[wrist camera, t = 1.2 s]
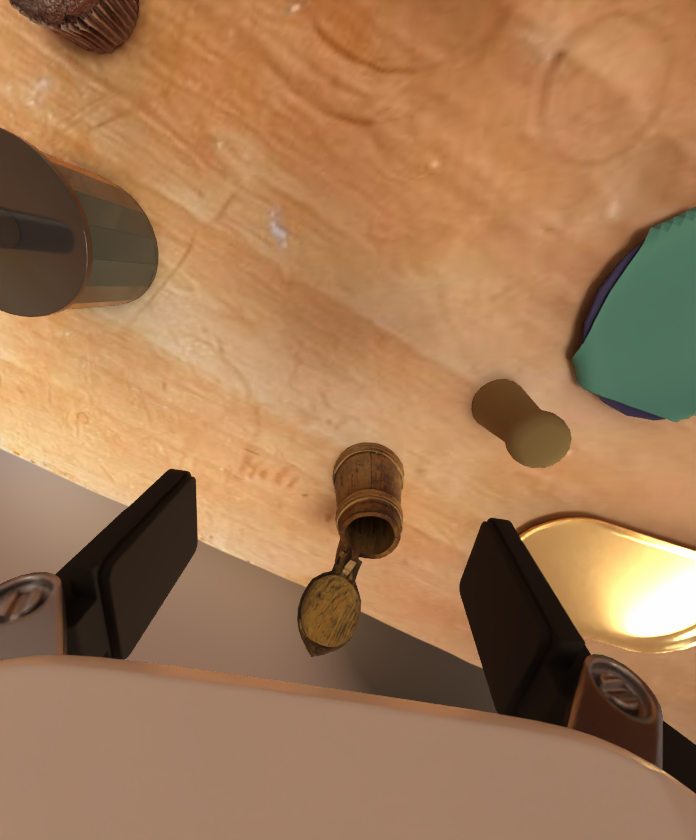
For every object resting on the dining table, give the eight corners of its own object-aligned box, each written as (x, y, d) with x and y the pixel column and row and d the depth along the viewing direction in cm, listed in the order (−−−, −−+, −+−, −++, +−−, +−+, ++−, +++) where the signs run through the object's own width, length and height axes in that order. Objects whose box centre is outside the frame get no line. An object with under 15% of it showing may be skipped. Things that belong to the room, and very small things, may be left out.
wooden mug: (301, 506, 45) (264, 636, 28) (359, 429, 40) (354, 531, 24) (357, 537, 46) (352, 678, 30) (417, 467, 42) (453, 587, 25)
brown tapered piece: (465, 426, 40) (501, 474, 29) (478, 376, 37) (521, 410, 27) (517, 431, 39) (569, 482, 29) (532, 382, 37) (596, 418, 27)
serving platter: (532, 493, 42) (538, 500, 41) (768, 569, 45) (781, 578, 44) (466, 594, 49) (469, 604, 48) (674, 655, 52) (683, 666, 50)
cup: (20, 231, 34) (-100, 212, 25) (89, 145, 31) (-20, 89, 22) (111, 326, 37) (32, 338, 28) (181, 256, 34) (117, 245, 25)
